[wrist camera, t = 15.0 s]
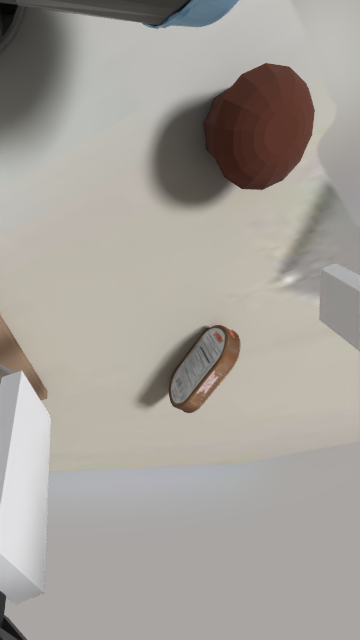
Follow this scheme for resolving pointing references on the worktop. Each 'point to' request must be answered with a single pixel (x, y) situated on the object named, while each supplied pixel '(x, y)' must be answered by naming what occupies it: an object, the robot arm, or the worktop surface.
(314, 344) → the worktop surface
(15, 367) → the board
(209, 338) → the tin
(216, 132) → the muffin
